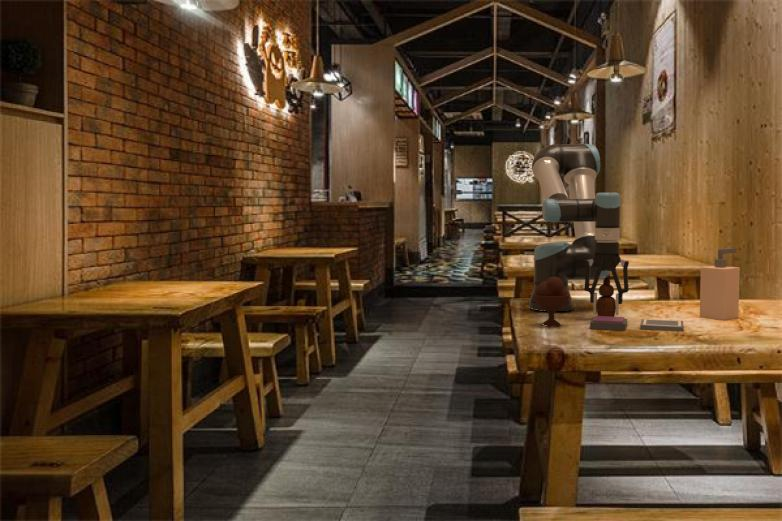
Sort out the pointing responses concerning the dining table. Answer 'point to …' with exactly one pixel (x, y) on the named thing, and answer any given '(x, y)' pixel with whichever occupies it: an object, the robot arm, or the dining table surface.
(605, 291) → the wooden figurine
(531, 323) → the dining table surface
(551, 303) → the ice cream bowl
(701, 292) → the soap dispenser
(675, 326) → the marked board
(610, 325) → the ink pad
